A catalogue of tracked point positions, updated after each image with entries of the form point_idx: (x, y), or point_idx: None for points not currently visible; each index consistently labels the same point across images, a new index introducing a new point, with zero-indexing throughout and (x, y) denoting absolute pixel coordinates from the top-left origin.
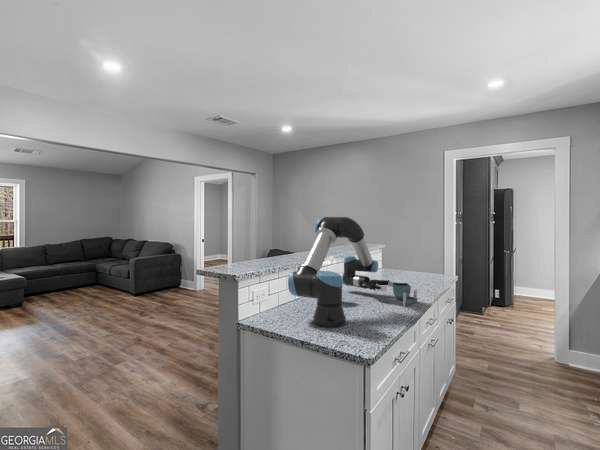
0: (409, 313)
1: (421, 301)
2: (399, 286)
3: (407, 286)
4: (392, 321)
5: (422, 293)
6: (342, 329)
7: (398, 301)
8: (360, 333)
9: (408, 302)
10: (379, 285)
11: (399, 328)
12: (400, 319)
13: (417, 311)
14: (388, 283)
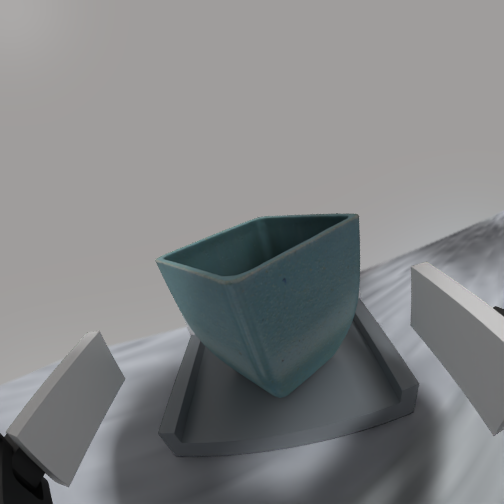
0: (412, 263)
1: (177, 345)
2: (327, 220)
3: (278, 219)
4: (500, 233)
5: (16, 393)
6: None
7: (371, 317)
8: None
9: None
10: (493, 309)
11: (495, 216)
12: (473, 238)
13: (363, 271)
14: (43, 456)
